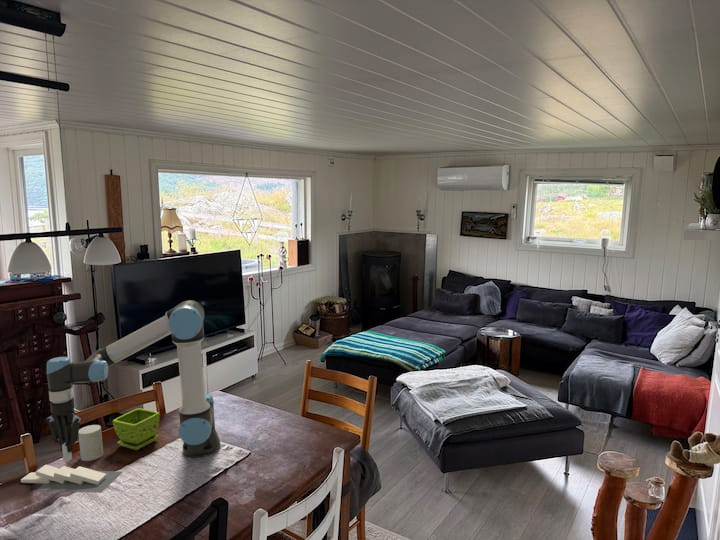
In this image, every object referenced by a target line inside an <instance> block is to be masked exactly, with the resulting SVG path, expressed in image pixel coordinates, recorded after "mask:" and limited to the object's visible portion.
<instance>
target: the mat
mask: <svg viewBox="0 0 720 540" xmlns="http://www.w3.org/2000/svg"><path fill="white" fill-rule="evenodd" d="M97 471H98V472H102V473H105V474H106V478H105V479H104V480H103V481H102V482H101V483H99V484H98V485H96V484H92V483H89V482H84V483H83V484H78V483H74V482H70V481H66V482H65V483H64V484H62V483H59V482H55V481H51V482H50V483H42V485H41V486H40V487H38V488H37V489H36V491H42V492H44V491H45V492H70V493H96V494H97V493H101V494H102V492H104V491H105V490H106V489H107V488H108V487H109V486H110V485H111V484H112V483H114V481H115V480H116V479H118V478H119V477H120V475H122V474H123V473H124V471H120V470H119V471H115V470H109V471H108V470H97Z"/></svg>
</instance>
